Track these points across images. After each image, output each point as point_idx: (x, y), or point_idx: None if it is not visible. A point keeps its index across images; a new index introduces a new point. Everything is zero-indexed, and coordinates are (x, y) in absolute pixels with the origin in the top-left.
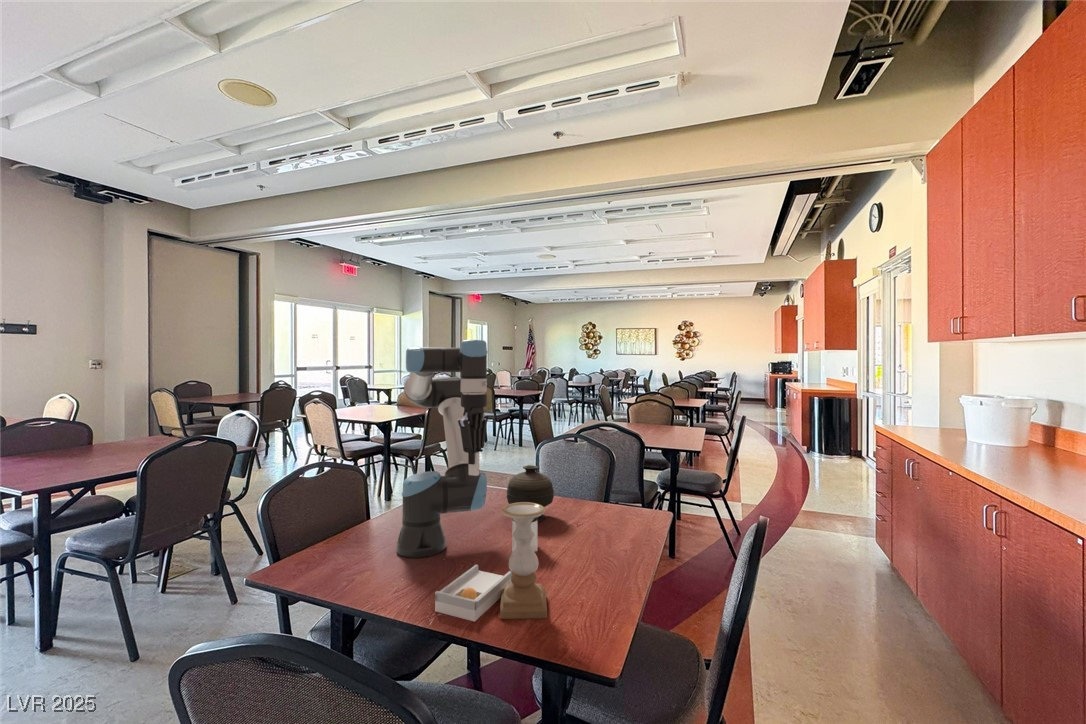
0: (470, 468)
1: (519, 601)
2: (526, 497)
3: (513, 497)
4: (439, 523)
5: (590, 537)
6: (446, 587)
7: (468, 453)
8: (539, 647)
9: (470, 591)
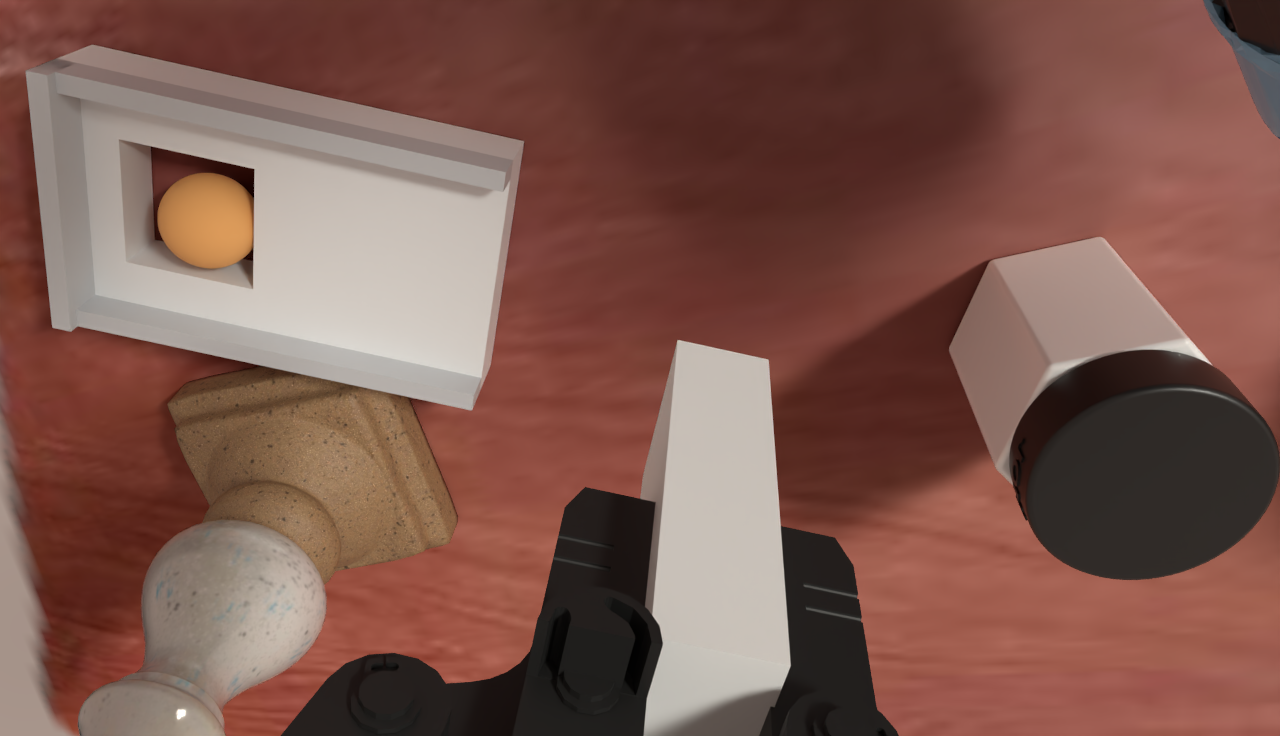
0: (662, 439)
1: (209, 495)
2: None
3: None
4: None
5: (1251, 661)
6: (139, 101)
7: (521, 663)
8: (78, 554)
9: (179, 251)
